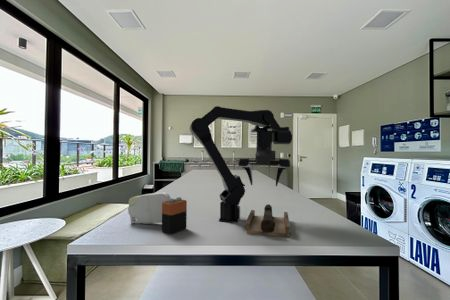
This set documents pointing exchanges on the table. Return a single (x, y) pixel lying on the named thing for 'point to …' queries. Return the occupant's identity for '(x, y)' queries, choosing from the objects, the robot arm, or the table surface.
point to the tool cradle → (279, 230)
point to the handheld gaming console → (147, 208)
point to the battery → (174, 215)
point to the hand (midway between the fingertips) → (263, 185)
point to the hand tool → (267, 220)
